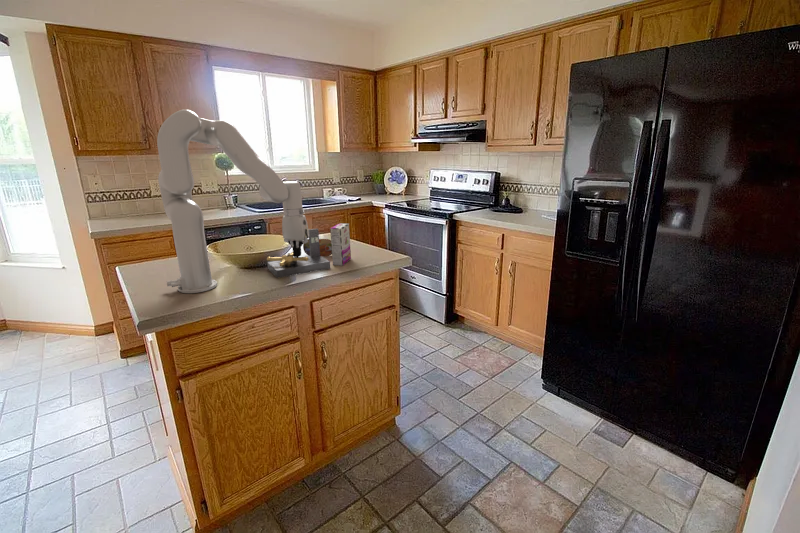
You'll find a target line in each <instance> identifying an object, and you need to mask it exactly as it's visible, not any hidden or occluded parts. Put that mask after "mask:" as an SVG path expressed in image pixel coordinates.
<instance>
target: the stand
mask: <svg viewBox="0 0 800 533" xmlns="http://www.w3.org/2000/svg"><path fill="white" fill-rule="evenodd" d="M308 230H309V238H308V239H309V245H310V256H309V255H305V256H303V257H308V261H297V264H295V265H290V266H283V267H281V266H280V265H279V264H280V262H281V261H267V262H266V265H267V270H268V269H269V270H268V271H269V272H270V273H271V274H273V275H274V276H275V277H276V278H277V279H279V278H278V277H280V278H285V277H290V275H291V276H297V275H302V274H306V273H312V272H318V271H323V270H328V269H331V261H329V260H328V259H327V258H326V257H321V256H320V247H319V239H320V235H319V228H312V229H310V228H308ZM296 274H297V275H296ZM284 276H285V277H284Z"/></svg>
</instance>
